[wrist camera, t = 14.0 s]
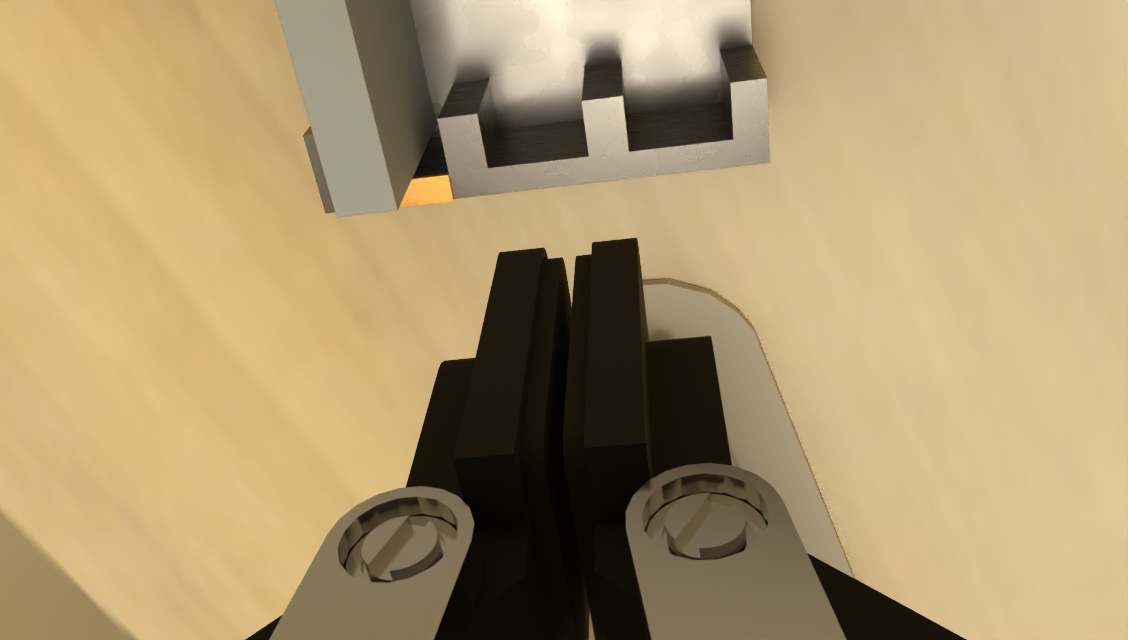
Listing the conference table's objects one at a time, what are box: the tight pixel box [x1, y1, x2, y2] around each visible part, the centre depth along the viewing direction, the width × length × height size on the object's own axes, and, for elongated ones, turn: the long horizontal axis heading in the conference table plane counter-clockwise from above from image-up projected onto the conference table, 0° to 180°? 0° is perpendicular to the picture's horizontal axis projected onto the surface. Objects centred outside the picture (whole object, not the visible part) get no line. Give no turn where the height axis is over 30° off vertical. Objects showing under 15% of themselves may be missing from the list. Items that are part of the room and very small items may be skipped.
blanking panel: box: [275, 0, 437, 218], centre depth 32 cm, size 2×11×8 cm, turn 8°
